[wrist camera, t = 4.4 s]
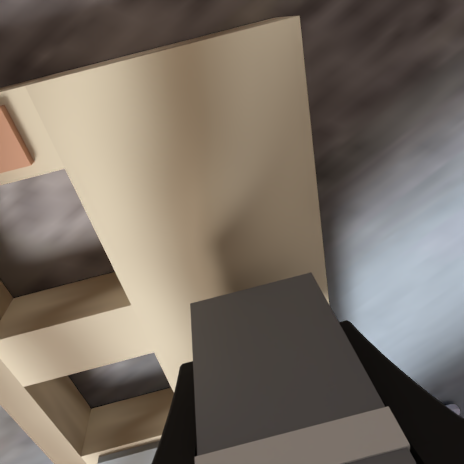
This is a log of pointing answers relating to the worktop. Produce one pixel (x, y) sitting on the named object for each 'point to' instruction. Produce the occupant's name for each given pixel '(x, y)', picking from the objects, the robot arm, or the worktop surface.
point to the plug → (285, 383)
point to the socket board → (156, 218)
